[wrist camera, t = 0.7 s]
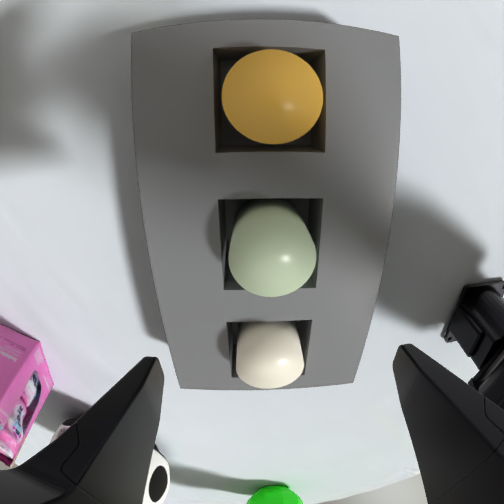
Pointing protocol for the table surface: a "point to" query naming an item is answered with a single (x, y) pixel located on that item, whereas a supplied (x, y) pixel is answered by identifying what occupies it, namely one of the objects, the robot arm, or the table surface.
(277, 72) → the amber button
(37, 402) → the gum box
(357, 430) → the table surface
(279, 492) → the plastic bottle
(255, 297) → the button panel
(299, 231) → the sage button
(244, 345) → the cream button
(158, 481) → the milk container
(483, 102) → the table surface
